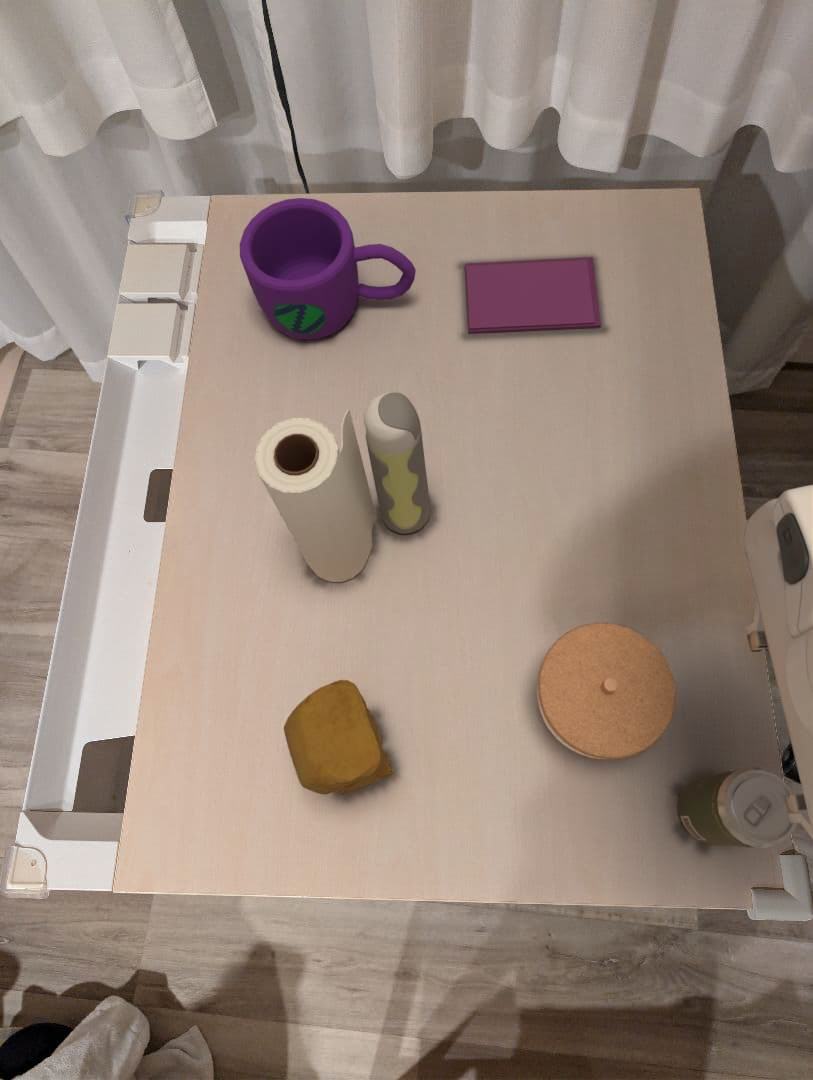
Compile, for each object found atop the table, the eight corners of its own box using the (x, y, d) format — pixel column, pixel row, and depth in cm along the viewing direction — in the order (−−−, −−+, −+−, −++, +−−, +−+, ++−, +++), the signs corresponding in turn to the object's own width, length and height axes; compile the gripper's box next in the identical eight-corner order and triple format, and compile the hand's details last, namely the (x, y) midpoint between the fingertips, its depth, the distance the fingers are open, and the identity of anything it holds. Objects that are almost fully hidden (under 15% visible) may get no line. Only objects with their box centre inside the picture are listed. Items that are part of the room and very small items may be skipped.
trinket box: (618, 790, 65) (643, 784, 57) (507, 723, 68) (515, 707, 59) (673, 683, 68) (705, 661, 60) (565, 622, 71) (581, 592, 62)
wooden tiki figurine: (401, 780, 67) (386, 768, 53) (329, 809, 66) (296, 803, 52) (374, 704, 69) (353, 673, 55) (305, 731, 69) (266, 706, 55)
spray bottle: (379, 493, 77) (354, 384, 58) (427, 487, 76) (418, 376, 58) (383, 538, 75) (359, 441, 56) (433, 532, 75) (425, 433, 56)
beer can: (714, 859, 63) (770, 866, 52) (662, 810, 65) (705, 805, 53) (754, 811, 64) (818, 807, 53) (702, 763, 66) (753, 749, 55)
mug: (255, 348, 83) (230, 287, 74) (267, 263, 87) (244, 195, 78) (415, 349, 82) (411, 287, 73) (420, 263, 86) (416, 194, 77)
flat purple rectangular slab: (592, 259, 85) (593, 254, 84) (600, 327, 82) (601, 323, 81) (465, 265, 86) (465, 261, 85) (468, 333, 83) (468, 329, 82)
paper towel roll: (310, 588, 73) (257, 498, 53) (304, 530, 76) (250, 422, 56) (385, 576, 73) (359, 481, 53) (376, 518, 76) (348, 406, 56)
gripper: (1095, 961, 27) (889, 919, 40) (918, 444, 34) (792, 549, 47) (912, 973, 27) (766, 927, 40) (774, 457, 35) (688, 558, 47)
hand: (780, 720), depth 44 cm, fingers open, 8 cm apart
